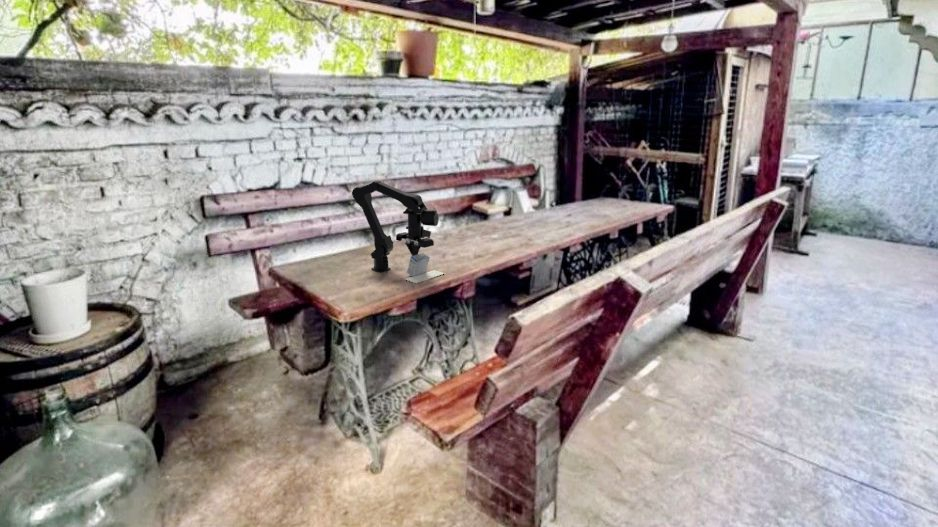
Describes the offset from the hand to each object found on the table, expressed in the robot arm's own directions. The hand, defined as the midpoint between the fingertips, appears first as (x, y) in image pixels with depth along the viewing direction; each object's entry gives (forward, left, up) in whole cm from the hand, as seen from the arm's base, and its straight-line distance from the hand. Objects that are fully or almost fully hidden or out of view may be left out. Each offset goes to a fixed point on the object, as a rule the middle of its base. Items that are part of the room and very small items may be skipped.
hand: (414, 258), depth 227 cm
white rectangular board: (+7, 0, -7) cm, 10 cm away
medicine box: (+1, 0, -7) cm, 7 cm away
